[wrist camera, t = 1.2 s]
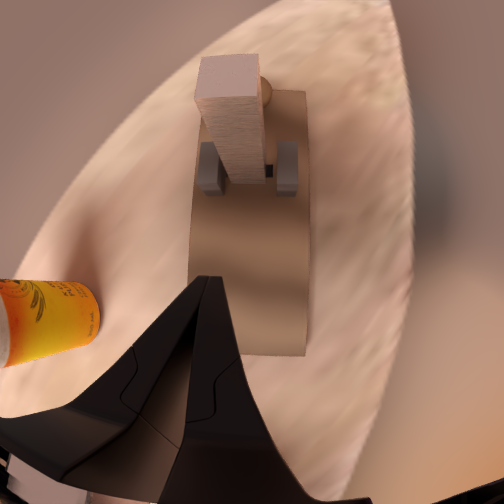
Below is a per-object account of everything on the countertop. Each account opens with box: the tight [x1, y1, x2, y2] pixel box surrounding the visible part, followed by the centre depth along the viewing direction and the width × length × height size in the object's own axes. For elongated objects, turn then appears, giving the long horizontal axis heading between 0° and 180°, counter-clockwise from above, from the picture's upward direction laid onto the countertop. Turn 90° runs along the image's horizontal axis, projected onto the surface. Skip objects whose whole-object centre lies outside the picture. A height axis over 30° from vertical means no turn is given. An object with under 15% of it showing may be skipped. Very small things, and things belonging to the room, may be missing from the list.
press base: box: [187, 76, 310, 356], centre depth 21 cm, size 22×9×5 cm, turn 178°
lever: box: [194, 54, 273, 184], centre depth 16 cm, size 2×3×12 cm
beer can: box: [0, 279, 100, 369], centre depth 16 cm, size 6×6×15 cm
